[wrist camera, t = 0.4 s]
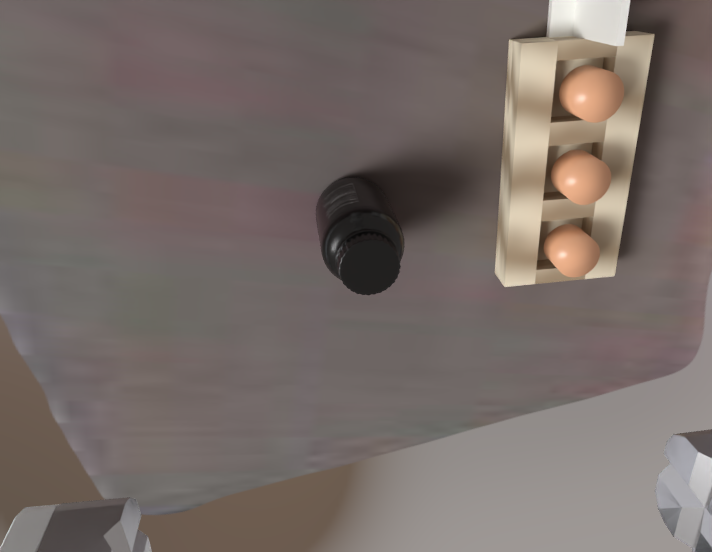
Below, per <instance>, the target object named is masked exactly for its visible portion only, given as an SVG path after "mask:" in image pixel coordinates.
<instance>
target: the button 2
mask: <svg viewBox="0 0 712 552" xmlns="http://www.w3.org/2000/svg"><path fill="white" fill-rule="evenodd" d="M623 97H624V85H623V82H622V80H621V79H620V77H619V76H618V75H617V74H615V73H613V72H611V71H608V70H605V69H601V68H598V67H595V66H592V65H583V66H579V67H577V68H575V69H573V70H572V71H571V72H569V73H568V74H567V76H566V77H565V78H564V80H563V82H562V84H561V86H560V91H559V99H560V102H561V105H562V107H563V108H564V109H565V110H566V111H567V112H569V113H571V114H573V115H575V116H577V117H579V118H581V119H583V120H585V121H587V122H591V123H598V122H602V121H605V120H607V119H608V118H610V117H611V116H612V115H614V114H615V113H616V111H617V110H618V109H619V107H620V106H621V103H622V101H623Z"/></svg>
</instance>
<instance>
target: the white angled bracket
mask: <svg viewBox="0 0 712 552" xmlns="http://www.w3.org/2000/svg"><path fill="white" fill-rule="evenodd" d="M629 6H630V0H549V12H548V23H547V34H546V37H548V38H552V37H567V36H574V37H578V38H583V39H587V40H591V41H596V42H600V43H604V44H609V45H613V46H624V41H625V34H626V27H627V20H628V13H629Z"/></svg>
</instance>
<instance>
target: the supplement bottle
mask: <svg viewBox="0 0 712 552" xmlns="http://www.w3.org/2000/svg"><path fill="white" fill-rule="evenodd" d="M316 222H317V228H318V234H319V240H320V246H321V252H322V256H323V260H324V262H325V264H326V266H327V268H328V269H329V270H330V272H331V273H332V274H333V275H334V276H336V277H337V278H339V279H340V280H342V281H343V284H344V285H346V287H347V288H348V289H351V291H353V292H356V293H357V294H362V295H365V294H366V295H371V294H376V293H381V292H382V291H384V290H386V289H387V288H388V287H390V286H391V285H392V284H393V283H394V282H395V279H397V277H398V274H399V272H400V271H399V269H400V261H401V259H402V256H403V252H404V236H403V233H402V230H401V228H400V225H399V223H398V221H397V219H396V217H395V215H394V213H393V211H392V209H391V206H390V204H389V202H388V200H387V198H386V196H385V195H384V193H383V192H382V190H381V189H380V188H379V187H378V186H377V185H376V184H374V183H373V182H371V181H369V180H366V179H363V178H358V177H349V178H344V179H341V180H338V181H336V182H334V183H332V184H331V185H330V186H328V187H327V188H326V189H325V190H324V192H323V193H322V194H321V196H320V198H319V200H318V203H317V206H316Z"/></svg>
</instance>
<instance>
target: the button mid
mask: <svg viewBox="0 0 712 552" xmlns="http://www.w3.org/2000/svg"><path fill="white" fill-rule="evenodd" d="M551 180H552V183H553V185H554V187H555V188H556V189H557V190H558V191H560V192H561V193H562V194H563V195H565V196H566V197H567V198H568V199H570V200H571V201H572V202H574V203H576V204H579V205H588V204H591V203H594V202H596V201H598V200H599V199H600V198H602V197H603V196H604V195H605V193H606V192H607V190H608V189H609V186H610V184H611V171H610V169H609V167H608V166H607V164H605V163H604V162H603V161H601V160H599V159H598V158H596V157H594V156H593V155H591V154H589V153H588V152H586V151H584V150H579V149H578V150H571V151H568V152H566V153H564V154H563V155H561V156H560V157H559V158H558V159H557V160H556V162H555V163H554V165H553V168H552V171H551Z"/></svg>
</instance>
